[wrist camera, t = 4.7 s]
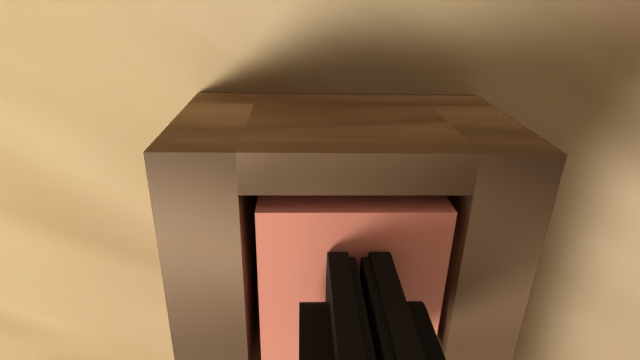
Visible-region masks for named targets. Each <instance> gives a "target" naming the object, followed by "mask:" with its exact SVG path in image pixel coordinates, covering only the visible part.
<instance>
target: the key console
mask: <svg viewBox="0 0 640 360" xmlns="http://www.w3.org/2000/svg"><path fill="white" fill-rule="evenodd" d="M143 153H144V160H145V166H146V173H147V179H148V186H149V193H150V199H151V206H152V212H153V219H154V226H155V232H156V239H157V245H158V252H159V259H160V265H161V272H162V278H163V285H164V292H165V298H166V305H167V311H168V318H169V325H170V331H171V338H172V344H173V351H174V358H175V360H261V341H260V319H259V296H258V274H257V251H256V229H255V209H256V204H257V199H258V195H446V197H447V198H448V200H449V201H450V203H451V204H452V206H453V207H454V208H455V210H456V211H457V218H456V224H455V230H454V236H453V242H452V248H451V254H450V260H449V266H448V272H447V278H446V284H445V290H444V296H443V302H442V308H441V314H440V320H439V325H438V331H437V338H438V340H439V343H440V346H441V348H442V351H443V353H444V356H445V359H446V360H513V356H514V352H515V348H516V345H517V341H518V337H519V333H520V330H521V326H522V322H523V318H524V314H525V311H526V307H527V303H528V299H529V296H530V292H531V288H532V284H533V281H534V277H535V273H536V269H537V266H538V262H539V258H540V254H541V250H542V247H543V243H544V239H545V235H546V232H547V228H548V224H549V220H550V217H551V213H552V209H553V205H554V201H555V198H556V194H557V190H558V186H559V183H560V179H561V175H562V171H563V168H564V164H565V160H566V156H567V154H566V153H564V152H563V151H561V150H559V149H558V148H556V147H555V146H553V145H552V144H550V143H549V142H547V141H546V140H544V139H542V138H541V137H539V136H538V135H536V134H535V133H533V132H532V131H530V130H529V129H527V128H525V127H524V126H522V125H521V124H519V123H518V122H516V121H515V120H513V119H512V118H510V117H508V116H507V115H505V114H504V113H502V112H501V111H499V110H498V109H496V108H495V107H493V106H491V105H490V104H488V103H487V102H485V101H484V100H482V99H481V98H479V97H478V96H462V95H372V94H281V93H197V94H196V95H195V97H194V98H193V99H192V100H191V101H190V102H189V103H188V104H187V105H186V106H185V107H184V109H183V110H182V111H181V112H180V113H179V114H178V115H177V116H176V117H175V118H174V119H173V121H172V122H171V123H170V124H169V125H168V126H167V127H166V128H165V129H164V130H163V131H162V133H161V134H160V135H159V136H158V137H157V138H156V139H155V140H154V141H153V142H152V143H151V145H150V146H149V147H148V148H147V149H146V150H145V151H144V152H143Z"/></svg>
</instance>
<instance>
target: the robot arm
mask: <svg viewBox="0 0 640 360" xmlns="http://www.w3.org/2000/svg"><path fill="white" fill-rule="evenodd" d="M299 360H446V359H445V356H444V353H443V351H442V348H441V346H440V343H439V340H438V338H437V335H436V332H435V330H434V327H433V325H432V322H431V319H430V317H429V314H428V312H427V309H426V307H425V305H424V303H423V302H422V301H406V298H405V295H404V292H403V289H402V286H401V283H400V280H399V277H398V274H397V271H396V268H395V265H394V262H393V259H392V256H391V253H390V252H369V254H368V257H362V258H361V263H360V276H359V271H358V266H357V261H356V257H349V256H348V252H327V265H326V296H325V302H299Z"/></svg>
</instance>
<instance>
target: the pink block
mask: <svg viewBox="0 0 640 360" xmlns="http://www.w3.org/2000/svg"><path fill="white" fill-rule="evenodd" d="M456 218H457V211H456V210H455V208H454V207H453V206H452V204H451V203H450V201H449V200H448V198H447V197H446V195H258V199H257V204H256V209H255V229H256V251H257V274H258V296H259V319H260V341H261V360H299V302H325V296H326V265H327V252H348V256H349V257H356V261H357V266H358V271H359V276H360V263H361V258H362V257H368V254H369V252H390V253H391V256H392V259H393V262H394V265H395V268H396V271H397V274H398V277H399V280H400V283H401V286H402V289H403V292H404V295H405V298H406V301H422V302H423V303H424V305H425V307H426V309H427V312H428V314H429V317H430V319H431V322H432V325H433V327H434V330H435V332H436V335H437V331H438V325H439V320H440V314H441V308H442V302H443V296H444V290H445V284H446V278H447V272H448V266H449V260H450V254H451V248H452V242H453V236H454V230H455V224H456Z"/></svg>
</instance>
